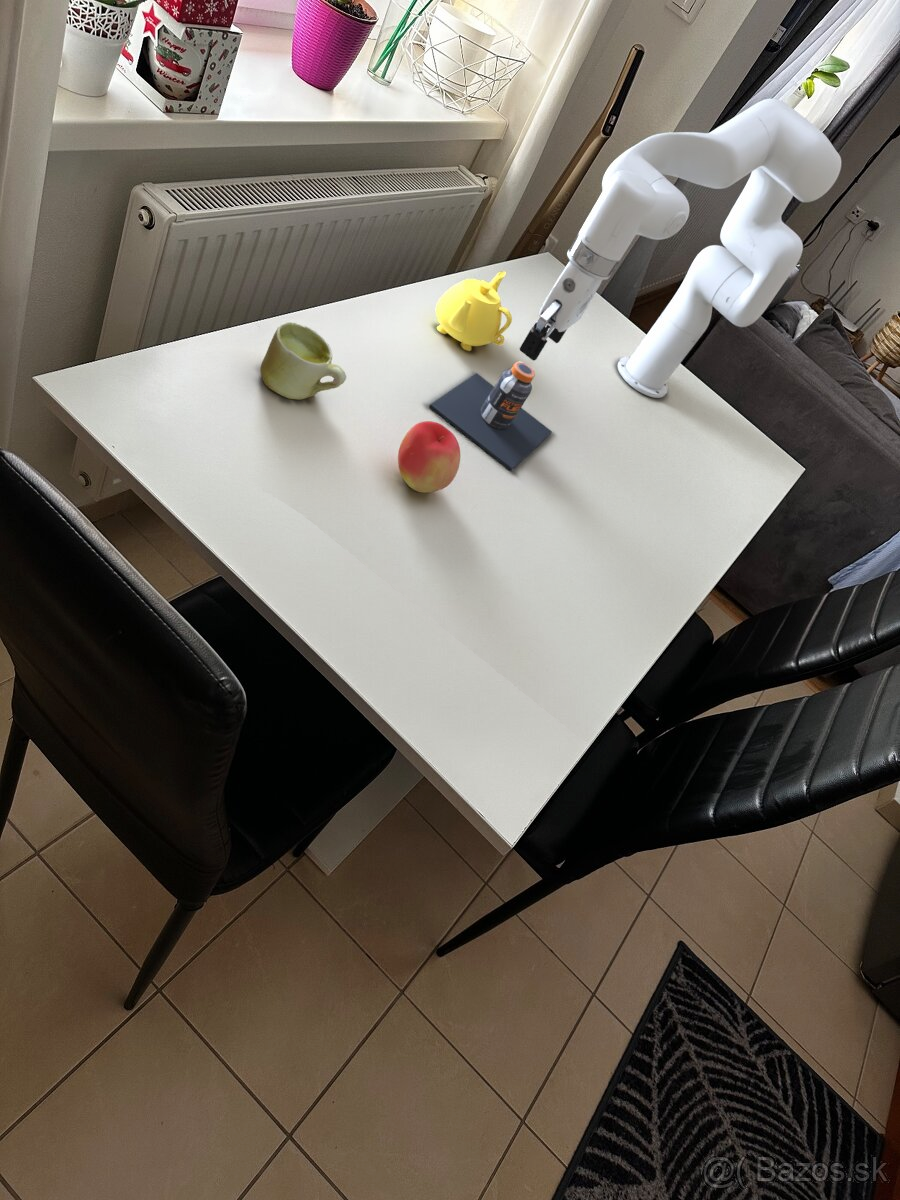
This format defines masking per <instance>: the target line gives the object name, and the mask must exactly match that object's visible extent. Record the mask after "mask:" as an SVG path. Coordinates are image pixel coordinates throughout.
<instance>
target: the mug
mask: <svg viewBox="0 0 900 1200" xmlns="http://www.w3.org/2000/svg"><path fill="white" fill-rule="evenodd" d="M332 361H333V352H332V348H331V346H330V344H329V343H328V341H326V339H325V338H324V337H322V336H321V334H320V333H318V332H317V331H316V330H314V329H313V328H311V327H309V326H306V325H302V324H299V323H297V322H292V321H288V322H284V323H282V324H280V325H279V326H278V327H276V330H275V332H274V333H273V336H272V338H271V341H270V342H269V345H268V347H267V350H266V354H265V355H264V357H263V359H262V362H261V364H260V376H261V379H262V380H263V382H264V385H266V387H267V388H268V389H270V390H271V391H273V392H275V393H277V395H280V396H281V397H283V398H287V399H289V400H305V399H308V398H310V397H313V396H315V395H316V394H317V393H321V392H322V391H328V390H331V389H335V388H339V387H340V386H341V385H343V384H344V383H345V381H346V379H347V374H346V372H345V371H344V369H343V368H342V367H341V366H340V365H337V364H333V363H332ZM324 377H332V378H333V380H331V381H325V382H324V381H323V382H322V381H321V380H322V379H323V378H324Z"/></svg>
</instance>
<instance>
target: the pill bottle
mask: <svg viewBox="0 0 900 1200" xmlns="http://www.w3.org/2000/svg"><path fill="white" fill-rule="evenodd" d="M535 375H536V373H535V370H534V369H533V368H532V367H531V366H530V365H528V364H527V363H525V362H522V361H516V362H515V363H514V364H513V366H512V367H511V369H510V368H509V369H506V370H504V371H503V372H502V373H501V374H500V376H499V378H498V380H497V381H496V383H495V384H494V385H493V386H494V388H493V389H492V391H491V393H490V394H489V396H488V398H487V399H486V401H485V403H484V404H483V406H482V408H481V415H482V417H483V419H484V420H485V421H486V422H487V423H488V424H490V425H491V426H493V427H496V428H499V429H505V428H507V427H508V426H509V425H510V424H511V422H512V421H513V419H514V418H515V416H516V414H517V413H518V411H519V410H520V408H522V407H523V406H524V404H525V403H526V401H527V400H528V398H529V396H530V395H531V393H532V390H533V383H532V382H533V380H534V378H535Z"/></svg>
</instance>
